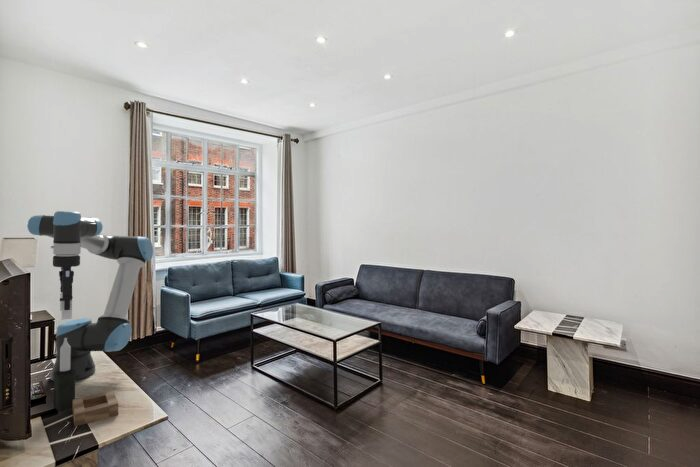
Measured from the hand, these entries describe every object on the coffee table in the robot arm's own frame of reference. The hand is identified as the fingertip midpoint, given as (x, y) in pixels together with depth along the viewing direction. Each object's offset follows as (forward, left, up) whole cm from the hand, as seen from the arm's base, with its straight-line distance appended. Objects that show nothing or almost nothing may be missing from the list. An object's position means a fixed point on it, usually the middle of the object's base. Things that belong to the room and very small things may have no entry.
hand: (65, 314), depth 125 cm
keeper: (+11, +8, -33) cm, 36 cm away
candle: (0, 0, -34) cm, 34 cm away
